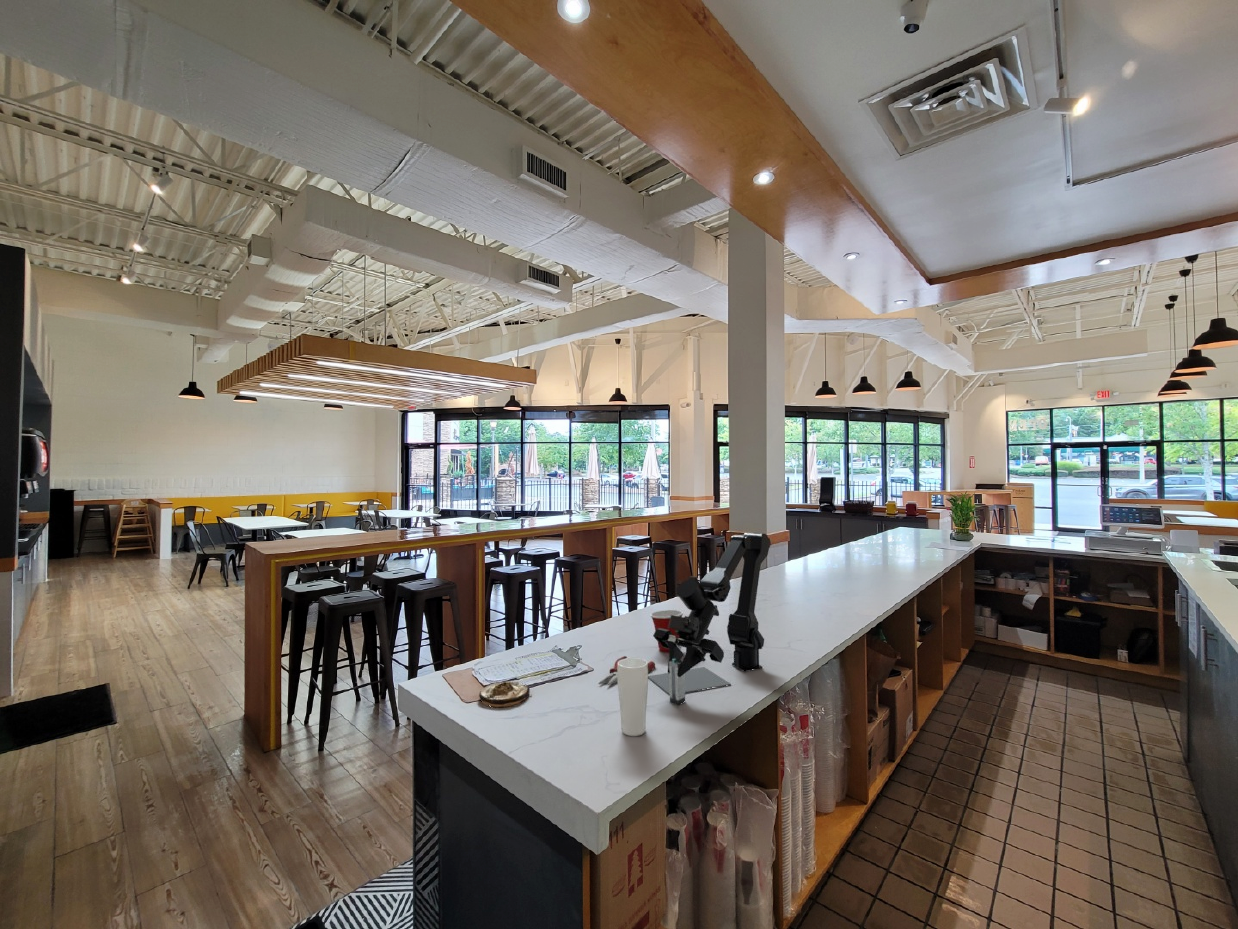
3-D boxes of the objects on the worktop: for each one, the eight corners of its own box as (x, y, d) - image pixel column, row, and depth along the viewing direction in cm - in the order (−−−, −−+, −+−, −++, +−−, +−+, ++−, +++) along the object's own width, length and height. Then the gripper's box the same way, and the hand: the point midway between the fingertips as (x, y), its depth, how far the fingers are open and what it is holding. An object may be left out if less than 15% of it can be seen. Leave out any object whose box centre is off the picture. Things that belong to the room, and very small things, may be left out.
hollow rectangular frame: (676, 699, 135) (676, 655, 136) (685, 702, 134) (684, 658, 134) (669, 702, 133) (669, 658, 134) (678, 705, 131) (677, 660, 132)
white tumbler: (616, 725, 121) (615, 658, 122) (646, 723, 122) (645, 656, 122) (619, 740, 115) (618, 668, 115) (651, 738, 115) (649, 667, 116)
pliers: (585, 685, 147) (585, 675, 147) (623, 663, 164) (623, 654, 164) (621, 693, 141) (621, 683, 141) (656, 669, 158) (656, 660, 158)
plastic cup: (661, 642, 182) (661, 606, 182) (690, 647, 176) (689, 610, 176) (644, 651, 173) (643, 613, 174) (673, 657, 167) (672, 618, 167)
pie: (509, 716, 128) (508, 698, 128) (462, 705, 135) (461, 688, 135) (545, 694, 141) (545, 678, 141) (501, 684, 148) (501, 669, 148)
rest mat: (704, 668, 157) (704, 667, 157) (730, 685, 144) (730, 683, 144) (647, 677, 150) (647, 676, 150) (670, 696, 137) (670, 694, 137)
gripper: (657, 597, 143) (629, 649, 135) (716, 608, 130) (690, 666, 122) (675, 621, 149) (650, 672, 141) (734, 633, 136) (710, 691, 128)
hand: (673, 674), depth 133 cm, fingers closed on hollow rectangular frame, 3 cm apart
